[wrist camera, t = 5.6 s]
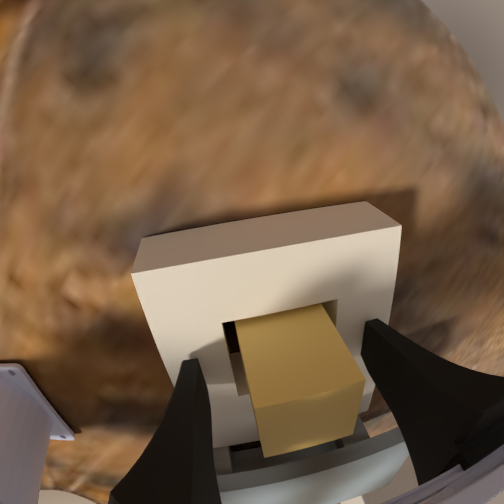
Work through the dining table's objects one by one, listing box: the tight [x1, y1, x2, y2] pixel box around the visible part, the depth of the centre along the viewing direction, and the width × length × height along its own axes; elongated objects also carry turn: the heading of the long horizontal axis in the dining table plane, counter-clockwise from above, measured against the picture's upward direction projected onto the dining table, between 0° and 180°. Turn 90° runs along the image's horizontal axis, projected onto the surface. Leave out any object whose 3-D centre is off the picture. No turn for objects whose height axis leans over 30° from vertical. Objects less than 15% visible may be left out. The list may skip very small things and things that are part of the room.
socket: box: [131, 201, 402, 448], centre depth 15 cm, size 10×12×3 cm
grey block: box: [213, 414, 409, 504], centre depth 17 cm, size 13×9×7 cm
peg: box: [234, 303, 366, 458], centre depth 13 cm, size 4×4×7 cm
